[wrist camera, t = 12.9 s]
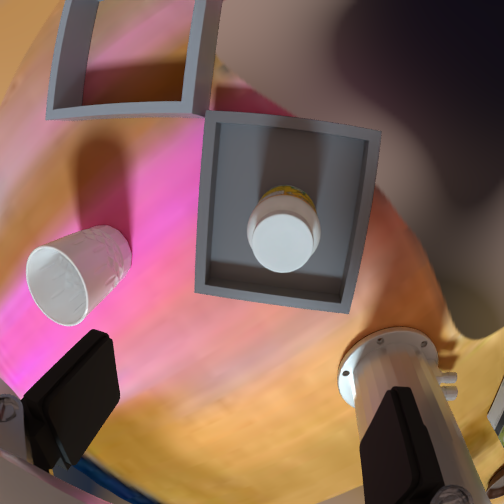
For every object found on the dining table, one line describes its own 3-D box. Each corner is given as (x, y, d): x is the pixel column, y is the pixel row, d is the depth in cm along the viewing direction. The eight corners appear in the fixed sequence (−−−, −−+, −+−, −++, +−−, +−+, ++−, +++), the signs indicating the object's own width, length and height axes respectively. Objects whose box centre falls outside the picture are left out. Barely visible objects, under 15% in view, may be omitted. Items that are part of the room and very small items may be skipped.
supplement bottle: (247, 199, 30) (225, 224, 21) (299, 174, 28) (301, 186, 19) (273, 250, 31) (263, 294, 22) (325, 227, 30) (337, 262, 21)
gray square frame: (226, -23, 24) (214, -47, 19) (208, 118, 29) (191, 113, 24) (94, -4, 25) (70, -17, 20) (73, 120, 30) (45, 120, 25)
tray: (374, 132, 27) (381, 131, 24) (345, 301, 33) (348, 313, 30) (213, 113, 28) (205, 110, 26) (202, 281, 34) (194, 292, 31)
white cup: (115, 206, 33) (57, 230, 23) (149, 270, 34) (103, 312, 25) (70, 237, 35) (15, 265, 25) (102, 294, 36) (54, 335, 27)
